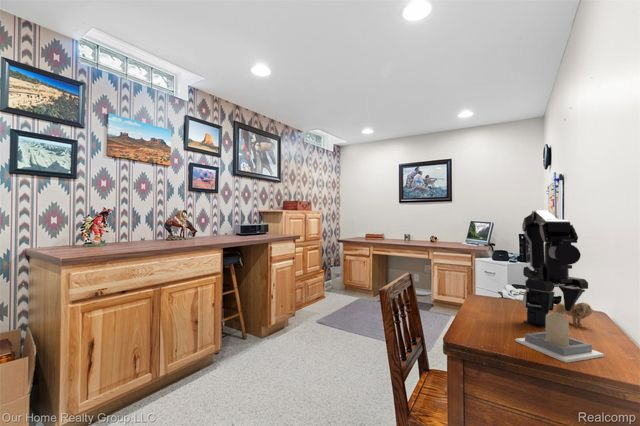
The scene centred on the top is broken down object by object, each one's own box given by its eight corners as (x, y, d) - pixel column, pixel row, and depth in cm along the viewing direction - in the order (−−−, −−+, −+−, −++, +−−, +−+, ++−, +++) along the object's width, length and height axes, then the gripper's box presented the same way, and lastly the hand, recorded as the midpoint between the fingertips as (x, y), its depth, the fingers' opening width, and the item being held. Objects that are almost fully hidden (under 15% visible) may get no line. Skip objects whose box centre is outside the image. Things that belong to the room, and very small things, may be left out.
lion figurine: (596, 328, 108) (596, 303, 108) (585, 329, 107) (585, 304, 107) (555, 316, 122) (555, 294, 123) (545, 316, 121) (545, 294, 121)
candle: (573, 350, 87) (573, 316, 87) (552, 348, 88) (551, 314, 88) (562, 343, 92) (561, 310, 92) (542, 341, 93) (541, 309, 93)
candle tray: (549, 336, 99) (549, 328, 99) (603, 356, 85) (603, 346, 85) (515, 341, 95) (515, 332, 95) (566, 362, 81) (566, 352, 81)
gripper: (551, 257, 101) (551, 303, 100) (509, 258, 96) (509, 306, 95) (589, 261, 90) (589, 312, 90) (544, 262, 85) (544, 317, 84)
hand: (556, 312), depth 90 cm, fingers open, 9 cm apart
